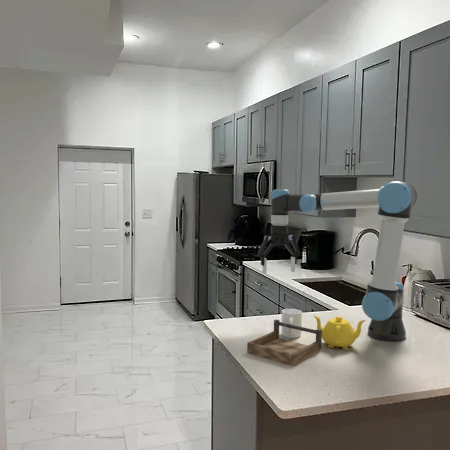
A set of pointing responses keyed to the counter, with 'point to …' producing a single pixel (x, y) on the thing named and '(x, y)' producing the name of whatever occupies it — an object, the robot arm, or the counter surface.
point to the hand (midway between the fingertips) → (278, 272)
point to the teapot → (339, 332)
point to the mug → (291, 322)
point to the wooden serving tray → (284, 346)
